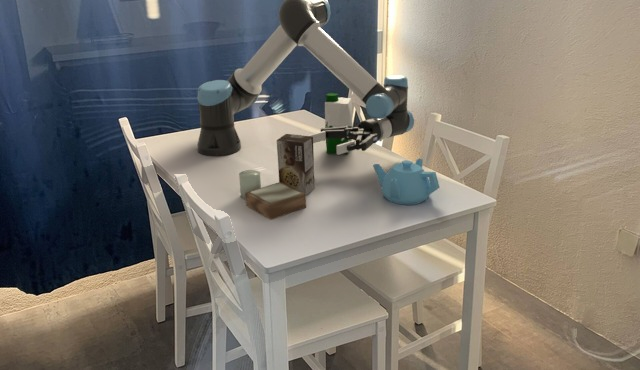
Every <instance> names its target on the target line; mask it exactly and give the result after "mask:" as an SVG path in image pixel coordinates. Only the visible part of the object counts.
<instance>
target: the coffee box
mask: <svg viewBox="0 0 640 370" xmlns="http://www.w3.org/2000/svg"><path fill="white" fill-rule="evenodd" d="M276 150H277V154H276V155H277V167H278V182H281V183H283V184H285V185H288V186H290V187H292V188H294V189H296V190H298V191H300V192H302V193H304V194H306V196H307V195H308V194H309V193H310V192H312V191H313V190H314V189H315V161H314V160H315V158H314V155H315V153H314V143H313V137H311V136H308V135H301V134H294V133H293V134H291V133H286V134H285V133H284V134H283V135H282V136H280V138H278V139H277V140H276Z"/></svg>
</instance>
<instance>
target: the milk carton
mask: <svg viewBox="0 0 640 370" xmlns="http://www.w3.org/2000/svg"><path fill="white" fill-rule="evenodd" d="M325 97H326V98H325V102H324V124H325V125H324V126H325V127H324V128H332V127H342V126H347V125H349V126H350V128H353V108H352V107H353V105H352V98H351V97H339V94H338V92H337V93H336V92H329V93H326V95H325ZM347 137H349V136H348V134H347ZM350 141H353V139H345V138H326V140H325V147H326V154H329V155H330V154H332V155H337V148H336V145H340V144H343V143H347V142H350ZM348 154H349V152H346V153H343V154H342V155H348Z"/></svg>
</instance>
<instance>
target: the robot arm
mask: <svg viewBox="0 0 640 370" xmlns="http://www.w3.org/2000/svg"><path fill="white" fill-rule="evenodd" d="M331 14H332V13H331V6H330V3H329V1H328V0H284V1H283V2H282V3H281V5H280V7H279V9H278V22H279V25H278V26H277V28H276V29H275V30H274V31H273V32H272V34H271V35H270V36H269V38H268V39H266V41H265V42H264V43H263V44H262V46H261V47H260V48H259V49H258V50H257V51H256V53H255V54H254V55H253V56H252V57H251V59H250V60H249V61H248V62H247V63H246V64H245V65H244V67H243V68H237V69H235V70H234V72H233V73H232V74H231V76H230V77H229V78H228V79H227V80H224V79H215V80H212V81H206V82H204V83H203V84H200V85H199V87H198V88H197V97H196V98H197V99H196V100H197V103H198V112H199V123H200V124H199V125H200V133H199V137H198V141H197V152H198V153H199V154H201V155H204V156H211V157H212V156H213V157H215V156H216V157H218V156H219V157H221V156H226V155H231V154H235V153H237V152H239V151H240V150H241V148H242V145H241V144H242V143H241V139H240V137H239V135H238V132H237V130H236V128H235V119H234V118H235V117H234V116H235V114H237V113H240V112H241V111H243V110H245V109H248V108H250V107H252V106H254V104H255V103H256V102H257V101H258V99H259V96H260V93H261V92H262V89H263V88H262V85H263V83H264V82H265V81H266V80H267V79H268V78H269V77H270V76H271V75H272V74H273V72H275V70H276V69H277V68H278V67H279V66H280V65H281V63H283V61H284V60H285V59H286V58H287V57H288V55H290V54H291V53H292V51H293V50H294V49H295V48H296V47H304V48H305V49H306V50H307V51H308V52H309V53H311V54H312V55H313V57H314V58H316V59H317V60H318V61H319V62H320V63H321V64H322V65H323V66H325V67H326V68H327V70H328V71H329V72H331V74H332V75H334V76H335V77H336V78H337V79H338V80H339V81H340V83H342V84H343V85H345V87H347V89H349V90H350V91H351V93H353V94H354V95H355V96H356V97H357V98H358V99H359V100H360V101H361V102H363V104H365V110H366V112H367V114H368V116H370V117H371V118H368V119H364V120H362V121H359V124H358V125H357V126H352V128H350V126H349V125H347V126H342V127H332V128H325V127H324V128H323V127H322V128H320V131H319V132H315V133H311V134H308V135H307V136H311V137H313V144H316V143H319V142H322V141H323V142H324V141H325V142H326V138H345V139H352V141H350V142H347V143H343V144H340V145H336V148H337V154H336V155H339V156H340V155H344V154H343V153H346V152H348V153H349V152H353V151H355V150H356V151H359V150H361V151H362V152H365V151H367V150H368V149H369V148H370V147H371V146H372V145H374V144H375V143H377V142H382V141H383V140H385V139H389V138H392V137H396V136H401V135H403V134H406V133H408V132H410V131H411V130H412V129H413V128H414V125H415V118H414V115H413V113H412V112H411V111H410V110H408V97H409V96H408V95H409V94H408V91H409V86H408V85H409V83H408V78H407V76H405V75H400V74H393V75H388V76H385V77H384V79H383V80H384V81H383V85H382V84H380V82H379V81H377V79H376V78H374V77H373V76H372V74H370V73H369V71H367V70H366V69H365V68H364V67H363V66H361V65H360V64H359V62H357V61H356V60H355V59H354V58H353V57H352V56H351V55H350V54H349V53H348V52H347V51H346V50H345V49H344V48H342V47H341V46H340V44H338V43H337V42H336V41H335V40H334V39H333V38H332V37H331V36H330V35H329V34H328V33H326V32H325V30H323V29H322V28H323V27H324V26H325V25H327V23H328V22H329V20H330V18H331ZM347 134H348V136H349V137H347Z"/></svg>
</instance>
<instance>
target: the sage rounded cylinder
mask: <svg viewBox="0 0 640 370" xmlns="http://www.w3.org/2000/svg"><path fill="white" fill-rule="evenodd" d="M238 177H239V189H240V198H241V199H242V200H244V201H246V197H245V193H246V192H249V191H253V190H256V189H259V188H262V183H261V172H260V171H258V170H256V169H247V170H246V169H245V170H242V171H240V172H239V174H238Z"/></svg>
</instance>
